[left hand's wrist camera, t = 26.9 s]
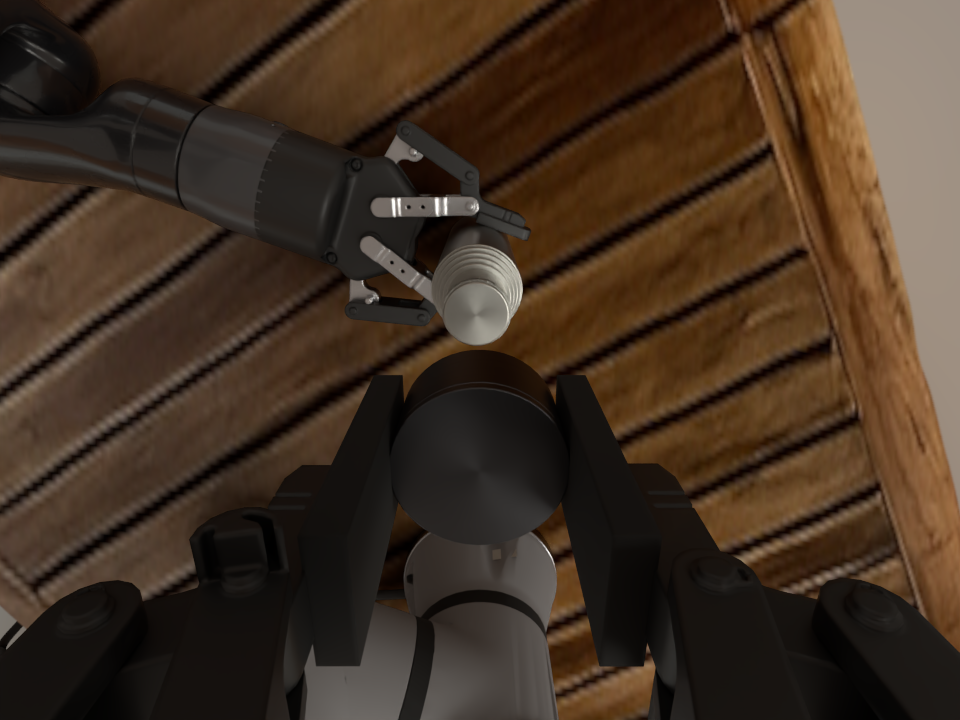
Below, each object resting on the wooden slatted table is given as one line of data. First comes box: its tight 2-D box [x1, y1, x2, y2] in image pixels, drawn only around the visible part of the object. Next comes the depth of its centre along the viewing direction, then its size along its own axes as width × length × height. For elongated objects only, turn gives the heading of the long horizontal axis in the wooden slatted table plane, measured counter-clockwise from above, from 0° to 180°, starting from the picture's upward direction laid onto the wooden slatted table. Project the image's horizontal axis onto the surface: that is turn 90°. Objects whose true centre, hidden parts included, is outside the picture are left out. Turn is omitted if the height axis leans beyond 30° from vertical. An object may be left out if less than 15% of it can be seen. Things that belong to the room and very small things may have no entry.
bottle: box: [431, 216, 523, 346], centre depth 34 cm, size 5×5×21 cm
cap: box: [390, 350, 570, 545], centre depth 14 cm, size 4×4×2 cm
